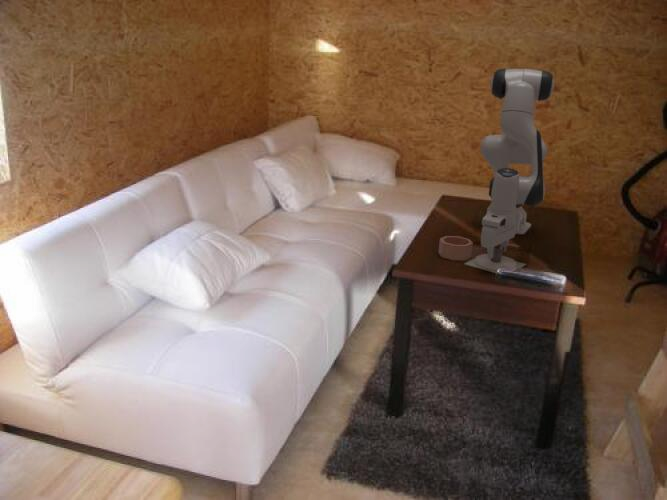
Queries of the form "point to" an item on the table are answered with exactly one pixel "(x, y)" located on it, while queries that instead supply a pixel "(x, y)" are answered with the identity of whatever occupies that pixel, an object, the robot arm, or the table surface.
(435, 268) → the table surface
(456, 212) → the table surface
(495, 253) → the lid
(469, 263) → the mat
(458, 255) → the bowl
